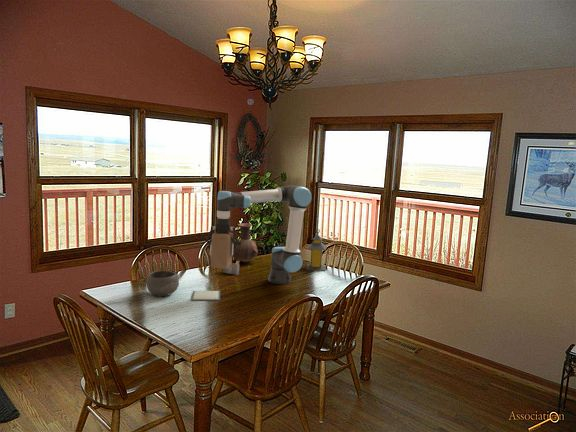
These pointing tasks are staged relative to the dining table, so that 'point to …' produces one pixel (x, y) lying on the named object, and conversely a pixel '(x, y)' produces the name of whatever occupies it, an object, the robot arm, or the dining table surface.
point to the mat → (206, 296)
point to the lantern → (316, 254)
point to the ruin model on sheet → (232, 269)
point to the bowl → (162, 282)
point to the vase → (245, 245)
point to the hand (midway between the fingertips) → (221, 254)
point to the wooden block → (221, 250)
